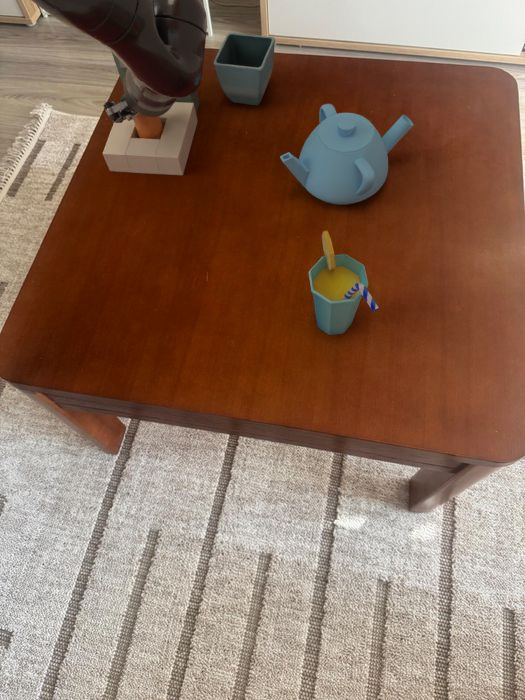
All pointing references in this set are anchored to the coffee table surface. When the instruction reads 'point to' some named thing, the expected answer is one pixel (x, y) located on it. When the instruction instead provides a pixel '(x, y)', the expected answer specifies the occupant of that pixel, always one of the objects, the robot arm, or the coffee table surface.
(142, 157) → the hollow square tile
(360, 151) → the teapot
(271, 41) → the flower pot
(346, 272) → the cup
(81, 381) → the coffee table surface
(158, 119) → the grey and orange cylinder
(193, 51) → the robot arm
